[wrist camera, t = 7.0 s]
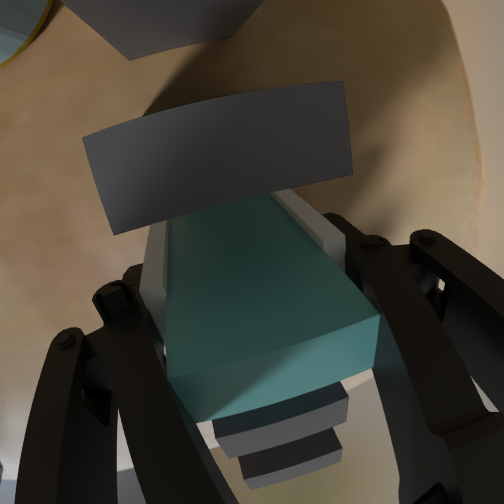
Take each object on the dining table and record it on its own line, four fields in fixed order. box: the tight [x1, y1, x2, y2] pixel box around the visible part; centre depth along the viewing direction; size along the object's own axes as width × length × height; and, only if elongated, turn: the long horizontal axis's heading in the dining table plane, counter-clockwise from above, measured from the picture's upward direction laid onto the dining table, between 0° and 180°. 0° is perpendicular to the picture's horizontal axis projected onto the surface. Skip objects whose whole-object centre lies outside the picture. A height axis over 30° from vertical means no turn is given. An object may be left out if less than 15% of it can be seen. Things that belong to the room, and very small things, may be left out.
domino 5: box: [238, 427, 343, 490], centre depth 17 cm, size 2×5×10 cm, turn 101°
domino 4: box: [212, 381, 349, 458], centre depth 15 cm, size 2×5×10 cm, turn 100°
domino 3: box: [166, 193, 380, 423], centre depth 11 cm, size 2×5×10 cm, turn 100°
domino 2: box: [82, 81, 353, 235], centre depth 10 cm, size 2×5×10 cm, turn 100°
